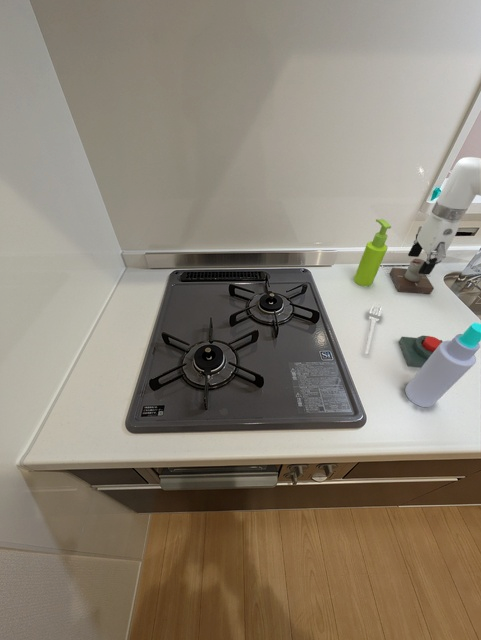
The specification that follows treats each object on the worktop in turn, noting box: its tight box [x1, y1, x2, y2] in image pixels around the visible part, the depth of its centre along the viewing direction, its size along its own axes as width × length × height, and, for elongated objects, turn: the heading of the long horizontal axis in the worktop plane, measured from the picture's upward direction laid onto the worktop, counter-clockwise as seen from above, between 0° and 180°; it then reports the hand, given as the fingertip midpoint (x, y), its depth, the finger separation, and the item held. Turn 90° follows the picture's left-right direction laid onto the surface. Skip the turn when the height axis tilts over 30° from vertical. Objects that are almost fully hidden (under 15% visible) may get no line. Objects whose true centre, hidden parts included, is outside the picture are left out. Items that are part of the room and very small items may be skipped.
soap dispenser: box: [353, 218, 392, 287], centre depth 86 cm, size 6×7×20 cm
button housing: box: [398, 335, 444, 369], centre depth 69 cm, size 10×8×4 cm
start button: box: [422, 335, 441, 352], centre depth 67 cm, size 4×4×2 cm
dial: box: [404, 258, 426, 282], centre depth 88 cm, size 5×5×6 cm
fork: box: [364, 302, 383, 355], centre depth 76 cm, size 3×20×2 cm, turn 154°
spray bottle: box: [404, 322, 481, 408], centre depth 54 cm, size 6×6×22 cm
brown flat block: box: [388, 267, 434, 295], centre depth 91 cm, size 10×10×3 cm
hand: (418, 264), depth 87 cm, fingers open, 9 cm apart
